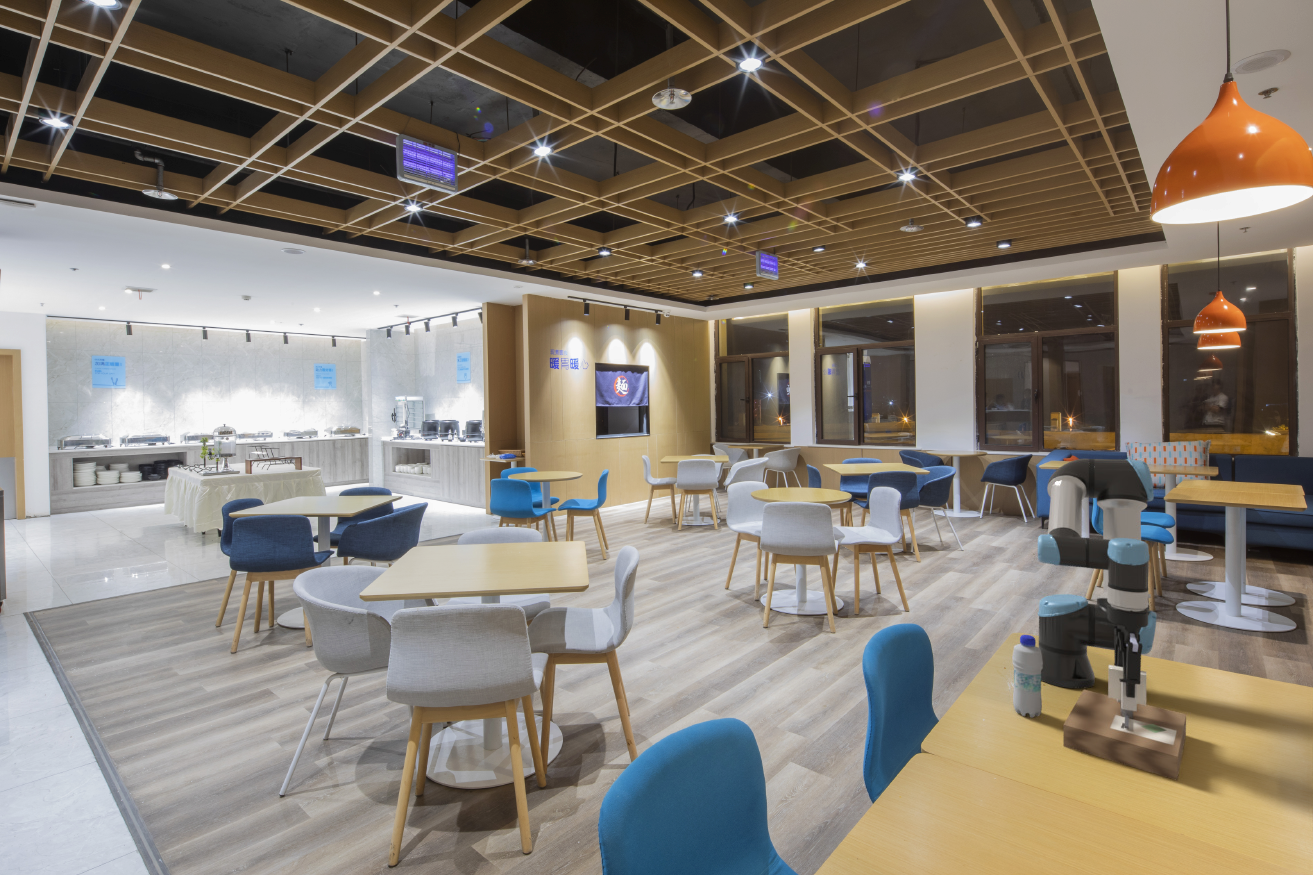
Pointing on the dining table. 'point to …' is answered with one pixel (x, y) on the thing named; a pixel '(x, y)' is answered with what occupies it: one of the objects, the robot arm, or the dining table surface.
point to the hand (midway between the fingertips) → (1126, 705)
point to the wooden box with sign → (1127, 734)
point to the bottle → (1027, 677)
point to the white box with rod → (1116, 688)
